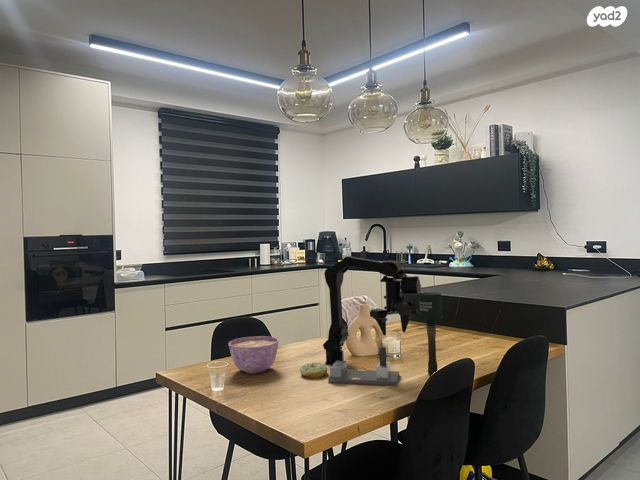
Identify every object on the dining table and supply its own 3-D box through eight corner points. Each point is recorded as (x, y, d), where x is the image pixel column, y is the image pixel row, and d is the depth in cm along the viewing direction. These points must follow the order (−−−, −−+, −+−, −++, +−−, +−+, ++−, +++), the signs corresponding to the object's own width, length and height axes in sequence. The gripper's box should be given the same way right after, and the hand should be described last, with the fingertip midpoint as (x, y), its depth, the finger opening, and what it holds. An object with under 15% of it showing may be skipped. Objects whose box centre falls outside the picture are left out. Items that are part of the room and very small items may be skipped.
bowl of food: (219, 376, 183) (218, 346, 182) (245, 362, 201) (244, 335, 201) (266, 379, 176) (264, 348, 176) (288, 365, 195) (287, 337, 194)
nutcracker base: (328, 382, 169) (327, 368, 169) (336, 372, 181) (335, 359, 181) (395, 385, 163) (395, 371, 163) (399, 375, 174) (398, 361, 174)
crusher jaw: (376, 378, 167) (375, 350, 167) (379, 372, 174) (378, 344, 174) (387, 379, 166) (386, 350, 166) (390, 372, 173) (389, 345, 173)
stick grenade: (418, 372, 177) (415, 292, 177) (440, 371, 178) (437, 291, 178) (425, 379, 169) (421, 295, 168) (448, 377, 169) (445, 294, 169)
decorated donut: (300, 380, 174) (300, 370, 174) (299, 371, 185) (299, 362, 185) (328, 378, 175) (328, 368, 175) (326, 370, 186) (325, 360, 186)
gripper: (385, 298, 171) (386, 341, 172) (425, 293, 180) (427, 334, 180) (368, 294, 181) (369, 335, 181) (407, 290, 190) (408, 329, 190)
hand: (394, 333), depth 183 cm, fingers open, 9 cm apart
